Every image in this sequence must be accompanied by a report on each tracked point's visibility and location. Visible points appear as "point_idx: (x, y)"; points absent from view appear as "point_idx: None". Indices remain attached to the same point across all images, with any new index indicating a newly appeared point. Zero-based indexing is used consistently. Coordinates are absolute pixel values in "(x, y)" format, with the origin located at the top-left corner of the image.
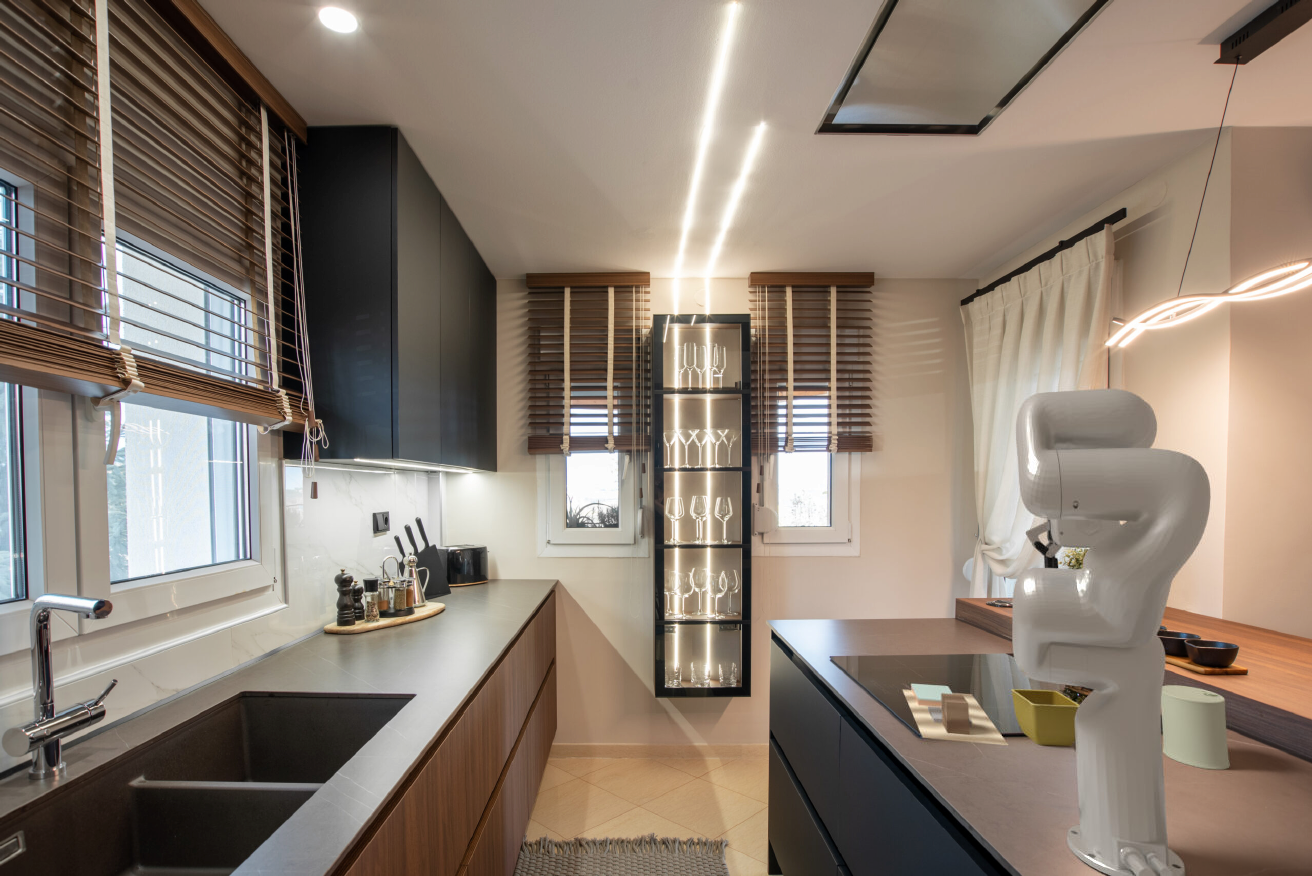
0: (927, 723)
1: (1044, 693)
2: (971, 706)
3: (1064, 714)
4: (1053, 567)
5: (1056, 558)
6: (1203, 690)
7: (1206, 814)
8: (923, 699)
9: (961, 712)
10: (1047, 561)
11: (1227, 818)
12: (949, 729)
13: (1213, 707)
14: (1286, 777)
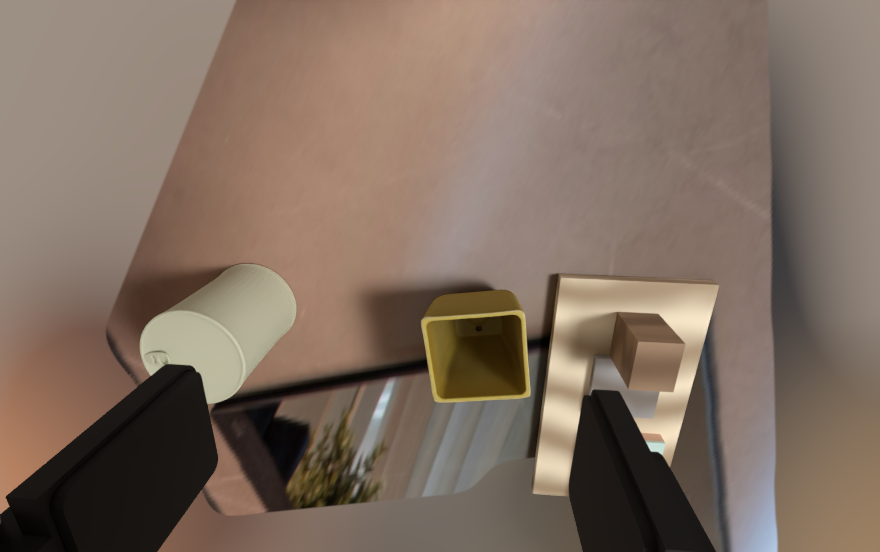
0: None
1: (460, 394)
2: (556, 439)
3: (457, 309)
4: (653, 470)
5: (665, 543)
6: None
7: (328, 88)
8: (654, 441)
9: (645, 332)
10: (713, 547)
11: (302, 80)
12: (656, 316)
13: (176, 307)
14: (152, 255)
